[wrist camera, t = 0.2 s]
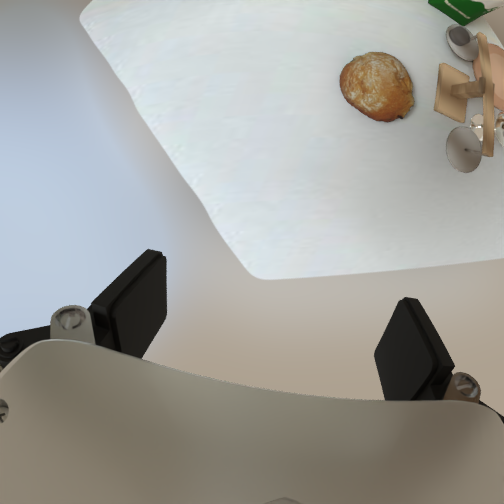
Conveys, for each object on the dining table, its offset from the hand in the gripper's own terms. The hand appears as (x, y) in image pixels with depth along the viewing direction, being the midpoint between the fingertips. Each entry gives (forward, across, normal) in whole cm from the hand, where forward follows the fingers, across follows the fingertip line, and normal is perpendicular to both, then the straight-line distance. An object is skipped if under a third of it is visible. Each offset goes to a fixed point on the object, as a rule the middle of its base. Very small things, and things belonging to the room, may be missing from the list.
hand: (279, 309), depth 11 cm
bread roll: (+31, -10, -16) cm, 36 cm away
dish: (+31, -32, -27) cm, 52 cm away
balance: (+31, -22, -19) cm, 43 cm away
